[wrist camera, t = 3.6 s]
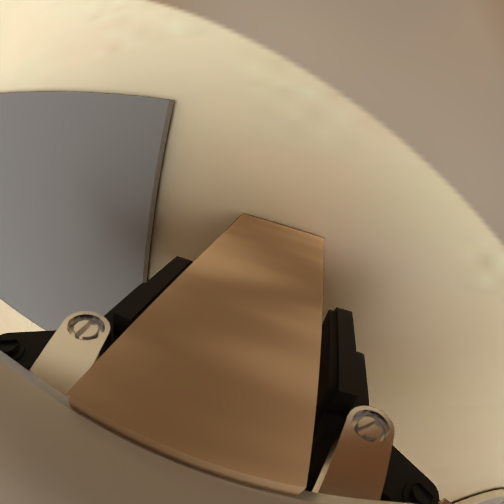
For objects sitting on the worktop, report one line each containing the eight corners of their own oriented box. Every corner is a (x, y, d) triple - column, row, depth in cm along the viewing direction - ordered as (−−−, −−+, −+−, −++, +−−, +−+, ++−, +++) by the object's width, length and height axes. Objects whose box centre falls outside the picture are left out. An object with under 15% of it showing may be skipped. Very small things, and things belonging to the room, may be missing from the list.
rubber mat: (174, 100, 10) (169, 99, 10) (142, 377, 16) (138, 381, 15) (-11, 94, 12) (-15, 94, 11) (-6, 289, 17) (-10, 291, 17)
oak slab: (323, 238, 11) (306, 488, 3) (277, 362, 13) (221, 556, 5) (241, 212, 11) (62, 390, 3) (212, 340, 14) (113, 514, 5)
